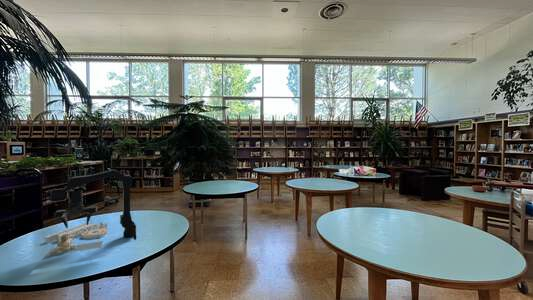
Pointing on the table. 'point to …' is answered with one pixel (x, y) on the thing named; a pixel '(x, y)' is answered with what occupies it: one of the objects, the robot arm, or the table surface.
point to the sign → (81, 232)
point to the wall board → (76, 248)
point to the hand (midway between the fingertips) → (77, 226)
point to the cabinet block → (64, 244)
